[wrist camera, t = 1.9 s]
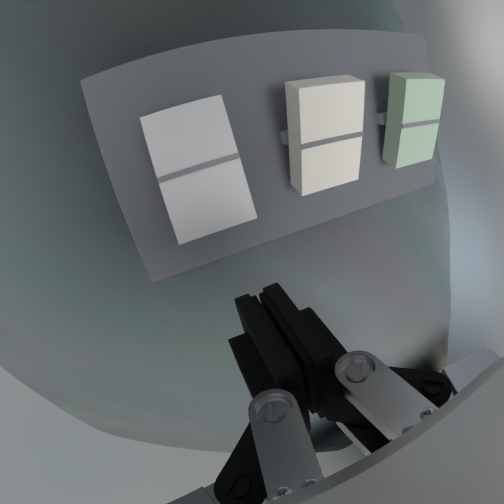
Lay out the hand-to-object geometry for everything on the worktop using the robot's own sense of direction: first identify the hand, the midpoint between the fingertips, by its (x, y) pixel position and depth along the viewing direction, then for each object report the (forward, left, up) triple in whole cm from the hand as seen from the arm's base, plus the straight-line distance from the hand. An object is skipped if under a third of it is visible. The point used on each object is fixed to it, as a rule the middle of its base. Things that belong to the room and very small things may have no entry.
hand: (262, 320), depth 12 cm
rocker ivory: (-4, +8, -8) cm, 12 cm away
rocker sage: (-4, +16, -8) cm, 18 cm away
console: (-4, +8, -16) cm, 18 cm away
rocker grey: (-4, 0, -8) cm, 9 cm away
